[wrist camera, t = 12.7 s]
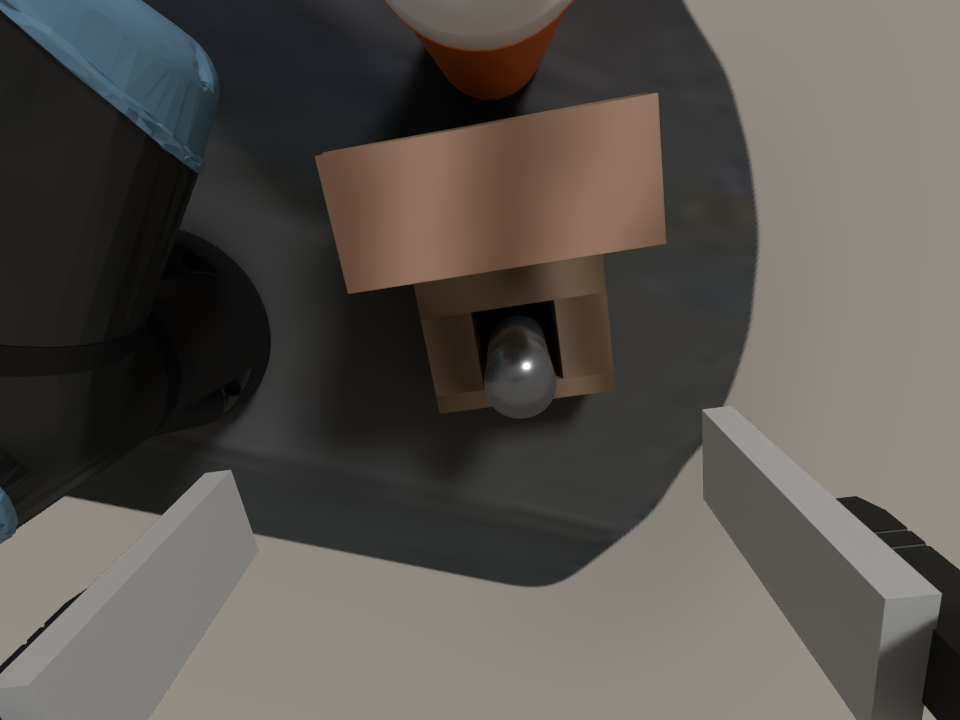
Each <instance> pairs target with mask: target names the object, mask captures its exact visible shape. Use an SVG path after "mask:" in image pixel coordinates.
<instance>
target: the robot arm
mask: <svg viewBox="0 0 960 720" xmlns="http://www.w3.org/2000/svg"><path fill="white" fill-rule="evenodd" d="M219 91H220V88H219V80H218V76H217V73H216V70H215V68H214V65H213V64H212V62H211V60H210V58H209V56H208V55H207V53H206V52H205V51H204V50H203V48H202V47H201V46H200V45H199V44H198V43H197V42H196V41H195V40H194V39H193V38H191V37H190V36H189V35H188V34H186V33H185V32H184V31H183V30H181V29H180V28H179V27H177V26H176V25H175V24H173V23H172V22H171V21H169V20H168V19H167V18H165V17H164V16H162V15H161V14H160V13H158V12H157V11H156V10H154V9H153V8H151V7H150V6H149V5H147V4H146V3H145V2H143V1H142V0H0V544H1V543H2V542H4V541H5V540H7V539H9V538H10V537H12V534H14V533H15V532H16V529H18V528H19V527H20V526H22V525H23V524H25V523H26V522H28V521H29V520H31V519H32V518H34V517H35V516H36V515H38V514H39V513H41V512H42V511H44V510H45V509H47V508H48V507H50V506H51V505H52V504H54V503H55V502H57V501H58V500H60V499H61V498H63V497H64V496H66V495H67V494H68V493H70V492H71V491H73V490H74V489H76V488H77V487H79V486H80V485H82V484H83V483H84V482H86V481H87V480H89V479H90V478H92V477H93V476H95V475H96V474H98V473H99V472H100V471H102V470H103V469H105V468H106V467H108V466H109V465H111V464H112V463H114V462H115V461H116V460H118V459H119V458H121V457H122V456H124V455H125V454H127V453H128V452H130V451H131V450H132V449H134V448H135V447H137V446H138V445H140V444H141V443H142V442H144V441H145V440H147V439H148V438H150V437H151V436H155V435H160V434H165V433H170V432H175V431H179V430H184V429H189V428H194V427H198V426H202V425H205V424H208V423H210V422H212V421H214V420H217V419H219V418H220V417H222V416H224V415H225V414H227V413H228V412H230V411H231V410H232V409H234V408H235V407H236V406H238V405H239V404H240V403H241V402H243V401H244V400H245V399H246V398H247V397H248V396H249V395H250V394H251V393H252V392H253V391H254V390H255V388H256V387H257V385H258V384H259V382H260V381H261V379H262V377H263V375H264V372H265V370H266V367H267V363H268V359H269V354H270V328H269V322H268V318H267V314H266V311H265V308H264V305H263V303H262V300H261V298H260V296H259V294H258V292H257V290H256V289H255V287H254V285H253V284H252V282H251V281H250V279H249V278H248V276H247V275H246V274H245V272H244V271H243V270H242V269H241V268H240V267H239V266H238V265H237V264H236V263H235V262H234V261H233V260H232V259H231V258H230V257H229V256H228V255H227V254H225V253H224V252H223V251H222V250H220V249H219V248H217V247H216V246H214V245H213V244H211V243H209V242H208V241H206V240H204V239H202V238H200V237H198V236H195V235H193V234H190V233H187V232H184V231H181V230H179V227H180V224H181V222H182V219H183V216H184V213H185V211H186V208H187V205H188V202H189V200H190V197H191V194H192V191H193V188H194V186H195V183H196V180H197V177H198V175H199V174H202V175H203V172H204V170H205V165H206V164H205V162H204V160H203V157H204V153H205V149H206V145H207V141H208V137H209V133H210V129H211V126H212V122H213V119H214V116H215V112H216V109H217V105H218V101H219ZM702 442H703V496H704V500H705V501H706V503H707V504H708V506H709V507H710V509H711V510H712V511H713V513H714V514H715V516H716V517H717V518H718V520H719V521H720V523H721V524H722V526H723V527H724V529H725V530H726V532H727V533H728V534H729V536H730V537H731V539H732V540H733V542H734V543H735V545H736V546H737V547H738V549H739V550H740V552H741V553H742V555H743V556H744V558H745V559H746V560H747V562H748V563H749V565H750V566H751V568H752V569H753V570H754V572H755V573H756V575H757V576H758V578H759V579H760V581H761V582H762V583H763V585H764V586H765V588H766V589H767V591H768V592H769V594H770V595H771V597H772V598H773V599H774V601H775V602H776V604H777V605H778V607H779V608H780V610H781V611H782V612H783V614H784V615H785V617H786V618H787V620H788V621H789V622H790V624H791V625H792V627H793V628H794V630H795V631H796V633H797V634H798V636H799V637H800V638H801V640H802V641H803V643H804V644H805V646H806V647H807V649H808V650H809V651H810V653H811V654H812V656H813V657H814V659H815V660H816V662H817V663H818V664H819V666H820V667H821V669H822V670H823V671H824V673H825V675H826V676H827V677H828V679H829V680H830V682H831V683H832V685H833V686H834V688H835V689H836V690H837V692H838V693H839V695H840V696H841V698H842V699H843V700H844V702H845V703H846V705H847V706H848V708H849V709H850V711H851V712H852V713H853V715H854V716H855V718H856V719H857V720H922V715H923V709H924V705H925V706H926V707H927V708H928V710H929V711H930V712H931V713H932V714H933V716H934V717H935V718H936V719H937V720H960V570H959V569H958V568H956V567H955V566H954V565H953V564H951V563H950V562H949V561H948V560H947V559H945V558H944V557H943V556H942V555H940V554H939V553H938V552H937V551H935V550H934V549H933V548H932V547H931V546H926V544H925V542H924V541H923V540H922V539H921V538H919V537H918V536H917V535H916V534H914V533H913V532H912V531H908V530H907V527H906V526H904V525H903V524H902V523H901V522H899V521H898V520H897V519H896V518H894V517H893V516H892V515H891V514H890V513H888V512H887V511H886V510H884V509H882V508H880V507H878V506H876V505H874V504H871V503H870V502H867V501H865V500H863V499H861V498H859V497H857V496H854V497H845V498H836V499H835V498H834V497H833V496H832V495H831V494H830V493H828V492H827V491H826V490H825V489H824V488H823V487H821V485H819V484H818V483H817V482H816V481H815V480H814V479H813V478H812V477H810V476H809V475H808V474H807V473H806V472H805V471H804V470H803V469H801V468H800V467H799V466H798V465H797V464H796V463H795V462H794V461H792V460H791V459H790V458H789V457H788V456H787V455H786V454H785V453H783V452H782V451H781V450H780V449H779V448H778V447H777V446H776V445H774V444H773V443H772V442H771V441H770V440H769V439H768V438H767V437H765V436H764V435H763V434H762V433H761V432H760V431H759V430H758V429H756V428H755V427H754V426H753V425H752V424H751V423H750V422H749V421H748V420H746V419H745V418H744V417H743V416H742V415H741V414H739V412H737V411H736V410H735V409H734V408H733V407H732V406H727V407H720V408H712V409H704V410H702ZM257 552H258V547H257V545H256V542H255V539H254V536H253V533H252V530H251V527H250V524H249V521H248V518H247V515H246V512H245V510H244V507H243V504H242V501H241V498H240V495H239V492H238V489H237V486H236V483H235V481H234V478H233V475H232V472H231V470H226V471H218V472H210V473H205V474H204V475H203V476H202V477H201V478H200V479H199V480H198V481H197V482H196V483H195V484H194V485H193V486H192V487H191V488H189V489H188V490H187V491H186V492H185V493H184V494H183V495H182V496H181V497H180V498H179V499H178V500H177V501H176V502H175V503H174V504H173V505H172V506H171V507H170V508H169V509H168V510H167V511H166V512H165V513H164V514H163V515H162V516H161V517H160V518H159V519H158V520H157V521H156V522H155V523H154V524H153V525H152V526H151V527H150V528H149V529H148V530H147V531H146V532H145V533H144V534H143V535H142V536H141V537H140V538H139V539H137V540H136V541H135V542H134V543H133V544H132V545H131V547H129V548H128V549H127V550H126V551H125V552H124V553H123V554H122V555H121V556H120V557H119V558H118V559H117V560H116V561H115V562H114V563H113V564H112V565H111V566H110V567H109V568H108V569H107V570H106V571H105V572H104V573H103V574H102V575H101V576H100V577H99V578H98V579H97V580H96V581H95V582H94V583H93V584H92V585H91V586H90V587H88V588H87V589H85V590H84V591H83V592H81V593H80V594H78V595H77V596H75V597H74V598H72V599H71V600H69V601H68V602H66V603H65V604H64V605H63V606H62V607H61V608H60V609H59V610H58V611H57V612H56V613H55V614H54V615H53V616H52V617H51V618H50V619H49V620H48V621H46V622H45V623H44V624H45V625H44V627H41V628H39V629H38V630H37V631H36V632H35V633H34V634H33V635H32V636H31V637H30V638H29V639H28V640H27V643H26V644H24V645H22V646H21V647H19V648H18V649H17V650H16V651H15V652H14V653H13V654H12V656H10V657H9V658H8V659H7V660H6V661H5V662H4V663H3V664H2V665H1V666H0V720H148V719H149V717H150V716H151V714H152V713H153V711H154V710H155V708H156V707H157V705H158V703H159V702H160V701H161V699H162V697H163V696H164V694H165V693H166V691H167V689H168V688H169V687H170V685H171V684H172V682H173V681H174V679H175V677H176V676H177V674H178V673H179V671H180V670H181V668H182V667H183V665H184V664H185V662H186V661H187V659H188V657H189V656H190V654H191V653H192V651H193V650H194V648H195V647H196V645H197V644H198V642H199V641H200V639H201V638H202V636H203V635H204V633H205V631H206V630H207V628H208V626H209V625H210V624H211V622H212V621H213V619H214V618H215V616H216V615H217V613H218V611H219V610H220V608H221V607H222V605H223V604H224V602H225V601H226V599H227V598H228V596H229V595H230V593H231V591H232V590H233V588H234V587H235V585H236V584H237V582H238V581H239V579H240V578H241V576H242V575H243V573H244V572H245V570H246V568H247V567H248V565H249V564H250V562H251V561H252V559H253V558H254V556H255V555H256V553H257Z"/></svg>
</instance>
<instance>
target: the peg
mask: <svg viewBox="0 0 960 720" xmlns="http://www.w3.org/2000/svg"><path fill="white" fill-rule="evenodd" d="M556 386H557V383H556V376H555V373H554V369H553V366H552V362H551V359H550V355H549V352H548V348H547V345H546V341H545V338H544V334H543V331H542V327H541V324H540V321H539V318H538V316H537V315H536V313H535V312H534V311H533V310H532V309H530V308H529V307H527V306H525V305H517V306H510V307H504V308H501V309H499V310H498V311H497V312H496V313H495V315H494V316H493V318H492V320H491V324H490V332H489V342H488V352H487V361H486V371H485V380H484V389H485V394H486V397H487V399H488V401H489V403H490V404H491V405H492V406H493V407H494V408H495V409H496V410H497V411H498V412H500V413H501V414H503V415H505V416H508V417H511V418H520V419H521V418H529V417H532V416H535V415H537V414H539V413H541V412H542V411H543V410H545V409H546V408H547V407H548V406H549V405H550V403H551V402H552V400H553V398H554V396H555V392H556Z"/></svg>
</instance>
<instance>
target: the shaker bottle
mask: <svg viewBox="0 0 960 720" xmlns="http://www.w3.org/2000/svg"><path fill="white" fill-rule="evenodd" d="M573 1H574V0H384V2H385V3H386V5H387V6H388V7H389V8H390V9H391V10H392V11H393V12H394V13H395V14H396V15H397V16H398V18H399V19H400V20H401V21H402V22H403V23H404V24H406V25H407V26H408V27H410V28H411V29H412V30H413V31H414V32H415V34H416V35H417V37H418V38H419V39H420V41H421V42H422V44H423V45H424V46H425V48H426V49H427V51H428V52H429V53H430V55H431V56H432V58H433V59H434V60H435V62H436V63H437V65H438V66H439V67H440V69H441V70H442V72H443V73H444V74H445V76H446V77H447V79H448V80H449V81H450V82H451V83H452V84H453V85H454V86H455V87H456V88H457V89H458V90H460V91H461V92H463V93H464V94H466V95H468V96H471V97H473V98H476V99H481V100H497V99H501V98H506V97H508V96H510V95H512V94H514V93H516V92H517V91H518V90H520V89H521V88H522V87H524V86H525V85H526V84H527V82H528V81H529V80H530V79H531V78H532V77H533V75H534V73H535V72H536V70H537V68H538V67H539V64H540V62H541V60H542V58H543V56H544V54H545V52H546V50H547V48H548V46H549V44H550V41H551V39H552V37H553V35H554V33H555V31H556V29H557V27H558V25H559V23H560V21H561V18H562V16H563V14H564V12H565V10H566V9H567V8H568V6H569V5H570V4H571V3H572V2H573Z"/></svg>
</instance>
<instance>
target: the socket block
mask: <svg viewBox="0 0 960 720" xmlns="http://www.w3.org/2000/svg"><path fill="white" fill-rule="evenodd" d="M315 159H316V163H317V168H318V172H319V176H320V180H321V184H322V188H323V192H324V196H325V201H326V205H327V209H328V213H329V217H330V221H331V225H332V230H333V234H334V238H335V242H336V246H337V250H338V254H339V258H340V263H341V267H342V271H343V275H344V279H345V283H346V287H347V292H348V294H351V293H358V292H364V291H370V290H377V289H383V288H389V287H396V286H402V285H408V284H414V289H415V294H416V299H417V304H418V309H419V314H420V319H421V324H422V329H423V334H424V339H425V344H426V348H427V353H428V358H429V363H430V368H431V373H432V378H433V383H434V388H435V393H436V398H437V403H438V408H439V413H440V414H443V413H450V412H457V411H465V410H472V409H480V408H487V407H493V406H492V405H491V404H490V403H489V401H488V399H487V397H486V394H485V389H484V380H485V371H486V363H485V357H484V351H483V345H482V339H481V333H480V327H479V321H478V315H477V311H484V310H491V309H497V308H504V307H510V306H517V305H523V304H530V303H537V302H543V301H549V303H550V311H551V319H552V327H553V335H554V343H555V351H556V357H551V358H550V359H551V362H552V366H553V369H554V373H555V376H556V383H557V386H556V392H555V396H554V398H561V397H569V396H576V395H583V394H591V393H598V392H606V391H613V390H615V381H614V370H613V359H612V348H611V337H610V326H609V315H608V304H607V293H606V281H605V270H604V259H603V253H610V252H616V251H622V250H629V249H635V248H641V247H647V246H654V245H660V244H666V233H665V214H664V195H663V177H662V158H661V140H660V121H659V103H658V93H654V94H649V92H647V93H642V94H636V95H631V96H626V97H620V98H615V99H609V100H604V101H599V102H593V103H588V104H582V105H577V106H572V107H566V108H561V109H555V110H550V111H545V112H539V113H534V114H528V115H523V116H518V117H512V118H507V119H501V120H496V121H491V122H485V123H480V124H475V125H469V126H464V127H458V128H453V129H448V130H442V131H437V132H431V133H426V134H421V135H415V136H410V137H404V138H399V139H394V140H388V141H383V142H377V143H372V144H367V145H361V146H356V147H350V148H345V149H340V150H334V151H329V152H323V155H318V156H315ZM554 398H553V399H554Z"/></svg>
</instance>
